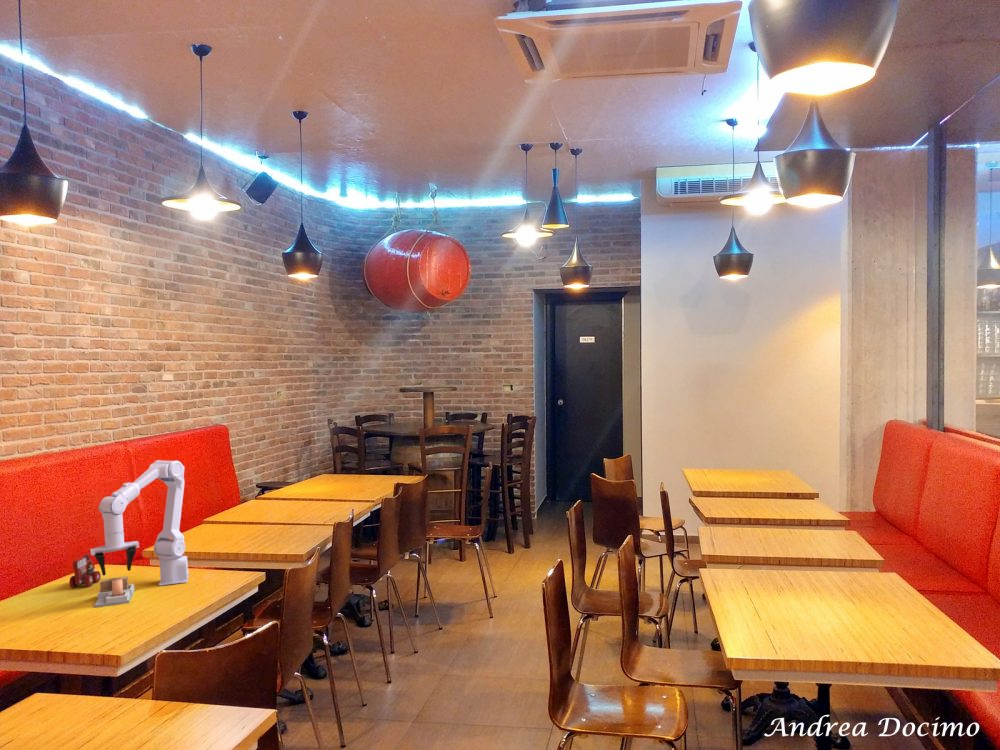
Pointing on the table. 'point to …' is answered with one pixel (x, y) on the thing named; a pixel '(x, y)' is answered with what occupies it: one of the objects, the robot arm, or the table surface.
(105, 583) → the tan rectangular block
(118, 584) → the tail peg
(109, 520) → the robot arm
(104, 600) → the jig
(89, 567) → the toy fire truck
